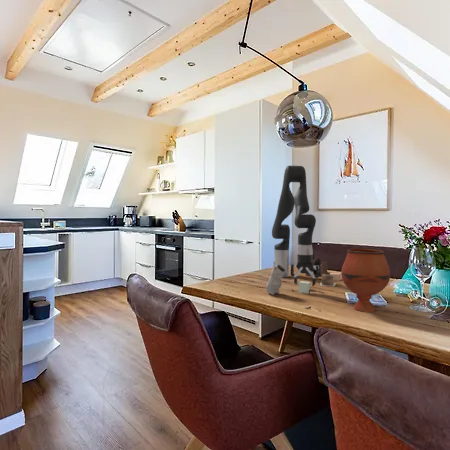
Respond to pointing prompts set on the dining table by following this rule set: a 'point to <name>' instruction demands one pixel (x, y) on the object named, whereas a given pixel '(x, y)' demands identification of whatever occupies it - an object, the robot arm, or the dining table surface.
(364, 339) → the dining table surface
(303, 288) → the sage block
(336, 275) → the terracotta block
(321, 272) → the letter holder
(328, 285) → the build plate
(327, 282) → the walnut block
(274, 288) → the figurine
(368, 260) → the goblet
